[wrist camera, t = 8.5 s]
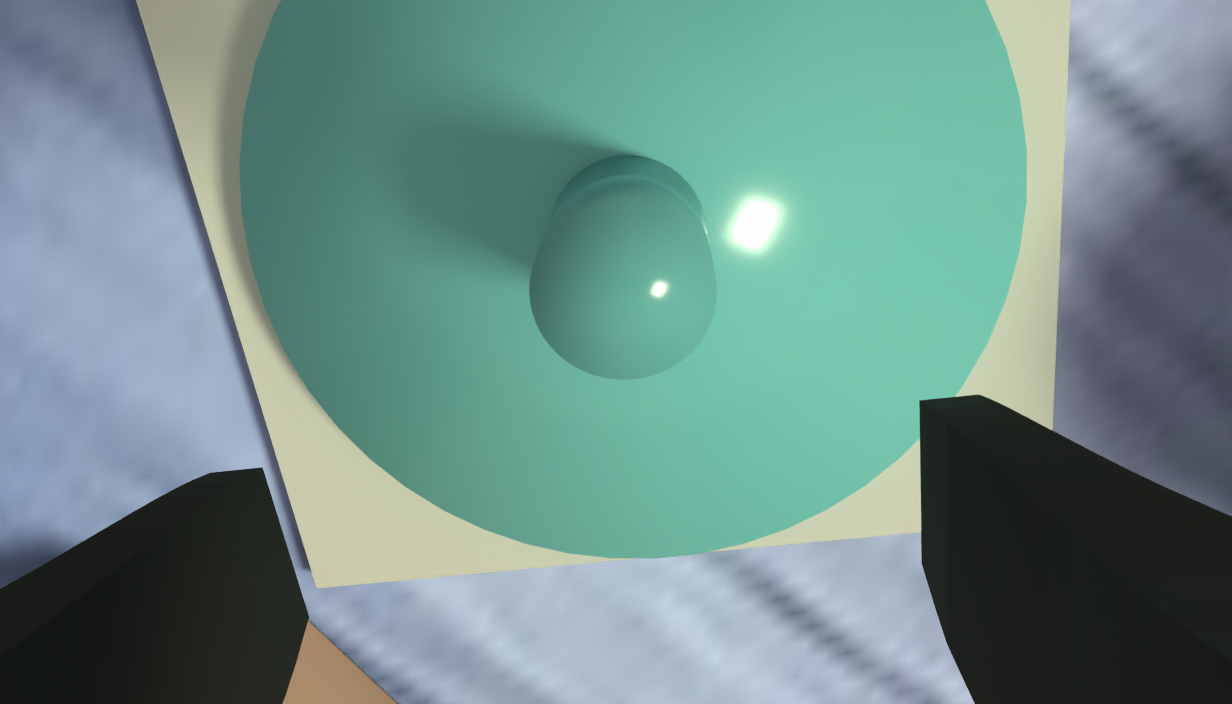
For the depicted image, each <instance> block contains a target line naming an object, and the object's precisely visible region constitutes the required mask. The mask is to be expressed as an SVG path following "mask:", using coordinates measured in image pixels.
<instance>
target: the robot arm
mask: <svg viewBox="0 0 1232 704" xmlns="http://www.w3.org/2000/svg"><path fill="white" fill-rule="evenodd" d="M919 409H920V477H921V544H922V565H923V569H924V572H925V575H926V579H927V582H928V585H929V588H930V592H931V595H932V598H933V602H934V605H935V608H936V611H937V614H938V617H939V620H940V623H941V626H942V630H943V633H944V636H945V639H946V642H947V644H948V647H949V649H950V651H951V653H952V655H953V658H954V660H955V662H956V664H957V666H958V668H959V671H960V673H961V675H962V677H963V679H964V681H965V683H966V686H967V688H968V690H969V692H970V694H971V696H972V698H973V701H974V703H975V704H1232V516H1229V515H1227V514H1224V513H1222V512H1220V511H1217V510H1215V509H1213V508H1211V507H1208V506H1206V505H1204V504H1202V503H1199V502H1197V501H1195V500H1193V499H1190V498H1188V497H1186V496H1184V495H1181V494H1179V493H1177V492H1174V491H1172V490H1170V489H1168V488H1165V487H1163V486H1161V485H1159V484H1157V483H1155V482H1153V481H1151V480H1149V479H1146V478H1144V477H1142V476H1140V475H1138V474H1136V473H1134V472H1132V471H1130V470H1128V469H1126V468H1124V467H1122V466H1120V465H1118V464H1116V463H1114V462H1112V461H1110V460H1108V459H1106V458H1104V457H1102V456H1100V455H1098V454H1096V453H1094V452H1092V451H1090V450H1088V449H1086V448H1084V447H1082V446H1081V445H1079V444H1077V443H1075V442H1073V441H1071V440H1069V439H1067V438H1065V437H1063V436H1062V435H1060V434H1058V433H1056V432H1054V431H1052V430H1050V429H1048V428H1046V427H1045V426H1043V425H1041V424H1039V423H1037V422H1035V421H1033V420H1031V419H1030V418H1028V417H1026V416H1024V415H1022V414H1020V413H1018V412H1016V411H1014V410H1012V409H1010V408H1008V407H1006V406H1004V405H1002V404H1000V403H998V402H996V401H994V400H992V399H989V398H987V397H984V396H982V395H979V394H978V395H968V396H958V397H948V398H938V399H929V400H919ZM308 619H309V616H308V612H307V609H306V606H305V603H304V600H303V596H302V593H301V590H300V587H299V583H298V580H297V577H296V574H295V571H294V567H293V564H292V561H291V558H290V555H289V551H288V548H287V545H286V542H285V539H284V535H283V532H282V529H281V526H280V523H279V519H278V516H277V513H276V510H275V506H274V503H273V500H272V497H271V494H270V490H269V487H268V484H267V481H266V478H265V474H264V471H263V468H253V469H243V470H234V471H224V472H214V473H209V474H207V475H204V476H202V477H199V478H197V479H194V480H192V481H190V482H188V483H186V484H184V485H182V486H180V487H178V488H176V489H174V490H172V491H170V492H168V493H166V494H165V495H163V496H161V497H159V498H157V499H155V500H154V501H152V502H150V503H148V504H147V505H145V506H143V507H141V508H140V509H138V510H136V511H134V512H133V513H131V514H129V515H127V516H126V517H124V518H122V519H121V520H119V521H117V522H115V523H114V524H112V525H110V526H109V527H107V528H105V529H104V530H102V531H100V532H98V533H97V534H95V535H93V536H92V537H90V538H88V539H87V540H85V541H83V542H81V543H80V544H78V545H76V546H75V547H73V548H71V549H70V550H68V551H66V552H65V553H63V554H61V555H59V556H58V557H56V558H54V559H53V560H51V561H49V562H48V563H46V564H44V565H42V566H41V567H39V568H37V569H35V570H34V571H32V572H30V573H28V574H26V575H25V576H23V577H21V578H19V579H17V580H16V581H14V582H12V583H10V584H8V585H7V586H5V587H3V588H1V589H0V704H282V703H283V701H284V699H285V696H286V693H287V690H288V687H289V684H290V681H291V677H292V674H293V671H294V668H295V665H296V662H297V659H298V655H299V651H300V648H301V644H302V641H303V637H304V633H305V630H306V626H307V623H308Z"/></svg>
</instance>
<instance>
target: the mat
mask: <svg viewBox="0 0 1232 704" xmlns="http://www.w3.org/2000/svg"><path fill="white" fill-rule="evenodd" d="M280 1H281V0H136V2H137V5H138V9H139V12H140V15H141V18H142V22H143V25H144V28H145V31H146V35H147V38H148V41H149V44H150V48H151V51H152V54H153V57H154V61H155V64H156V67H157V70H158V74H159V77H160V80H161V83H162V87H163V90H164V93H165V96H166V100H167V103H168V106H169V109H170V113H171V116H172V119H173V122H174V126H175V129H176V132H177V135H178V139H179V142H180V145H181V148H182V152H183V155H184V158H185V161H186V165H187V168H188V171H189V174H190V178H191V181H192V184H193V187H194V191H195V194H196V197H197V200H198V204H199V207H200V210H201V213H202V217H203V220H204V223H205V226H206V230H207V233H208V236H209V239H210V243H211V246H212V249H213V252H214V256H215V259H216V262H217V265H218V269H219V272H220V275H221V278H222V282H223V285H224V288H225V291H226V295H227V298H228V301H229V304H230V308H231V311H232V314H233V317H234V321H235V324H236V327H237V330H238V334H239V337H240V340H241V343H242V347H243V350H244V353H245V356H246V360H247V363H248V366H249V369H250V373H251V376H252V379H253V382H254V386H255V389H256V392H257V395H258V399H259V402H260V405H261V409H262V412H263V415H264V418H265V422H266V425H267V428H268V431H269V435H270V438H271V441H272V444H273V448H274V451H275V454H276V457H277V461H278V464H279V467H280V470H281V474H282V477H283V480H284V483H285V487H286V490H287V493H288V496H289V500H290V503H291V506H292V509H293V513H294V516H295V519H296V522H297V526H298V529H299V532H300V535H301V539H302V542H303V545H304V548H305V552H306V555H307V558H308V561H309V565H310V568H311V571H312V574H313V578H314V581H315V584H316V587H317V588H325V587H336V586H347V585H357V584H368V583H379V582H390V581H400V580H411V579H422V578H433V577H443V576H454V575H465V574H476V573H486V572H497V571H508V570H519V569H529V568H540V567H551V566H562V565H572V564H583V563H594V562H605V561H615V560H626V559H637V558H605V557H596V556H587V555H578V554H569V553H564V552H560V551H555V550H551V549H546V548H542V547H537V546H533V545H528V544H525V543H522V542H519V541H516V540H513V539H510V538H507V537H504V536H501V535H498V534H495V533H492V532H490V531H487V530H484V529H482V528H479V527H477V526H475V525H473V524H471V523H469V522H467V521H465V520H463V519H460V518H458V517H456V516H454V515H452V514H450V513H448V512H446V511H443V510H442V509H440V508H439V507H437V506H435V505H434V504H432V503H430V502H429V501H427V500H426V499H424V498H422V497H421V496H419V495H418V494H416V493H414V492H413V491H411V490H409V489H408V488H406V487H405V486H404V485H402V484H401V483H400V482H398V481H397V480H396V479H395V478H393V477H392V476H391V475H389V474H388V473H387V472H386V471H384V470H383V469H382V468H381V467H379V466H378V465H377V464H375V463H374V462H373V461H372V460H370V459H369V458H368V457H367V456H366V455H365V454H364V453H363V452H362V451H361V450H360V449H359V448H358V447H357V446H356V445H355V444H354V443H353V442H352V441H351V440H350V439H349V438H348V437H347V436H346V435H345V434H344V433H343V432H342V431H341V430H340V429H339V428H338V427H337V426H336V424H335V423H334V422H333V421H332V419H331V418H330V417H329V416H328V414H327V413H326V412H325V411H324V409H323V408H322V407H321V405H320V404H319V403H318V402H317V400H316V399H315V398H314V397H313V395H312V394H311V393H310V392H309V390H308V389H307V387H306V385H305V384H304V382H303V380H302V379H301V377H300V376H299V374H298V372H297V371H296V369H295V367H294V366H293V364H292V363H291V361H290V359H289V358H288V356H287V355H286V353H285V351H284V349H283V347H282V345H281V343H280V340H279V338H278V336H277V334H276V332H275V329H274V327H273V325H272V323H271V321H270V319H269V316H268V314H267V312H266V310H265V307H264V304H263V301H262V298H261V295H260V291H259V288H258V285H257V282H256V279H255V276H254V272H253V269H252V266H251V263H250V258H249V252H248V247H247V241H246V235H245V230H244V224H243V219H242V211H241V189H240V167H239V162H240V151H241V139H242V128H243V117H244V110H245V106H246V101H247V97H248V92H249V88H250V84H251V79H252V75H253V71H254V66H255V62H256V59H257V57H258V54H259V51H260V49H261V46H262V43H263V41H264V38H265V36H266V33H267V30H268V28H269V25H270V22H271V20H272V17H273V15H274V12H275V10H276V8H277V7H278V5H279V3H280ZM985 1H986V3H987V5H988V8H989V10H990V12H991V14H992V17H993V19H994V21H995V24H996V26H997V28H998V30H999V33H1000V35H1001V37H1002V39H1003V42H1004V44H1005V46H1006V50H1007V53H1008V57H1009V61H1010V64H1011V68H1012V71H1013V75H1014V78H1015V82H1016V86H1017V89H1018V93H1019V96H1020V102H1021V110H1022V117H1023V125H1024V132H1025V140H1026V147H1027V203H1026V210H1025V217H1024V224H1023V231H1022V238H1021V245H1020V252H1019V256H1018V259H1017V263H1016V266H1015V270H1014V273H1013V277H1012V281H1011V284H1010V288H1009V291H1008V295H1007V298H1006V301H1005V304H1004V306H1003V308H1002V311H1001V313H1000V315H999V318H998V320H997V322H996V325H995V327H994V329H993V332H992V334H991V336H990V339H989V341H988V343H987V346H986V347H985V349H984V351H983V352H982V354H981V356H980V357H979V359H978V361H977V363H976V364H975V366H974V368H973V369H972V371H971V373H970V374H969V376H968V378H967V380H966V381H965V383H964V385H963V386H962V388H961V389H960V390H959V392H958V393H957V394H956V396H955V397H958V396H968V395H978V394H979V395H982V396H984V397H987V398H989V399H992V400H994V401H996V402H998V403H1000V404H1002V405H1004V406H1006V407H1008V408H1010V409H1012V410H1014V411H1016V412H1018V413H1020V414H1022V415H1024V416H1026V417H1028V418H1030V419H1031V420H1033V421H1035V422H1037V423H1039V424H1041V425H1043V426H1045V427H1046V428H1048V429H1050V430H1052V431H1053V408H1054V384H1055V361H1056V337H1057V313H1058V290H1059V266H1060V243H1061V219H1062V196H1063V172H1064V148H1065V125H1066V101H1067V78H1068V54H1069V31H1070V7H1071V0H985ZM916 532H921V477H920V438H919V439H918V440H917V441H916V442H915V443H914V444H913V445H912V447H911V448H910V449H909V450H908V451H907V452H906V453H905V454H904V455H903V456H902V457H901V458H899V459H898V460H897V461H896V462H894V463H893V464H892V465H891V466H889V467H888V468H887V469H886V470H884V471H883V472H882V473H881V474H879V475H878V476H877V477H876V478H874V479H873V480H872V481H871V482H869V483H868V484H867V485H866V486H864V487H863V488H861V489H859V490H858V491H856V492H855V493H853V494H851V495H850V496H848V497H847V498H845V499H843V500H842V501H840V502H839V503H837V504H835V505H834V506H832V507H831V508H829V509H827V510H826V511H823V512H821V513H819V514H817V515H815V516H813V517H811V518H809V519H807V520H805V521H802V522H800V523H798V524H796V525H794V526H792V527H790V528H788V529H785V530H783V531H780V532H777V533H774V534H771V535H768V536H765V537H762V538H759V539H756V540H753V541H751V542H748V543H745V544H741V545H736V546H732V547H727V548H723V549H718V550H714V551H723V550H733V549H744V548H755V547H766V546H776V545H787V544H798V543H809V542H819V541H830V540H841V539H852V538H862V537H873V536H884V535H895V534H905V533H916ZM709 552H712V551H709Z"/></svg>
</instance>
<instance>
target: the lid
mask: <svg viewBox="0 0 1232 704" xmlns="http://www.w3.org/2000/svg"><path fill="white" fill-rule="evenodd" d="M239 167H240V189H241V211H242V219H243V224H244V230H245V235H246V241H247V247H248V252H249V258H250V263H251V266H252V269H253V272H254V276H255V279H256V282H257V285H258V288H259V291H260V295H261V298H262V301H263V304H264V307H265V310H266V312H267V314H268V316H269V319H270V321H271V323H272V325H273V327H274V329H275V332H276V334H277V336H278V338H279V340H280V343H281V345H282V347H283V349H284V351H285V353H286V355H287V356H288V358H289V359H290V361H291V363H292V364H293V366H294V367H295V369H296V371H297V372H298V374H299V376H300V377H301V379H302V380H303V382H304V384H305V385H306V387H307V389H308V390H309V392H310V393H311V394H312V395H313V397H314V398H315V399H316V400H317V402H318V403H319V404H320V405H321V407H322V408H323V409H324V411H325V412H326V413H327V414H328V416H329V417H330V418H331V419H332V421H333V422H334V423H335V424H336V426H337V427H338V428H339V429H340V430H341V431H342V432H343V433H344V434H345V435H346V436H347V437H348V438H349V439H350V440H351V441H352V442H353V443H354V444H355V445H356V446H357V447H358V448H359V449H360V450H361V451H362V452H363V453H364V454H365V455H366V456H367V457H368V458H369V459H370V460H372V461H373V462H374V463H375V464H377V465H378V466H379V467H381V468H382V469H383V470H384V471H386V472H387V473H388V474H389V475H391V476H392V477H393V478H395V479H396V480H397V481H398V482H400V483H401V484H402V485H404V486H405V487H406V488H408V489H409V490H411V491H413V492H414V493H416V494H418V495H419V496H421V497H422V498H424V499H426V500H427V501H429V502H430V503H432V504H434V505H435V506H437V507H439V508H440V509H442V510H443V511H446V512H448V513H450V514H452V515H454V516H456V517H458V518H460V519H463V520H465V521H467V522H469V523H471V524H473V525H475V526H477V527H479V528H482V529H484V530H487V531H490V532H492V533H495V534H498V535H501V536H504V537H507V538H510V539H513V540H516V541H519V542H522V543H525V544H528V545H533V546H537V547H542V548H546V549H551V550H555V551H560V552H564V553H569V554H578V555H587V556H596V557H605V558H664V557H673V556H682V555H691V554H701V553H705V552H709V551H714V550H718V549H723V548H727V547H732V546H736V545H741V544H745V543H748V542H751V541H753V540H756V539H759V538H762V537H765V536H768V535H771V534H774V533H777V532H780V531H783V530H785V529H788V528H790V527H792V526H794V525H796V524H798V523H800V522H802V521H805V520H807V519H809V518H811V517H813V516H815V515H817V514H819V513H821V512H823V511H826V510H827V509H829V508H831V507H832V506H834V505H835V504H837V503H839V502H840V501H842V500H843V499H845V498H847V497H848V496H850V495H851V494H853V493H855V492H856V491H858V490H859V489H861V488H863V487H864V486H866V485H867V484H868V483H869V482H871V481H872V480H873V479H874V478H876V477H877V476H878V475H879V474H881V473H882V472H883V471H884V470H886V469H887V468H888V467H889V466H891V465H892V464H893V463H894V462H896V461H897V460H898V459H899V458H901V457H902V456H903V455H904V454H905V453H906V452H907V451H908V450H909V449H910V448H911V447H912V445H913V444H914V443H915V442H916V441H917V440H918V439H919V438H920V409H919V400H929V399H938V398H948V397H955V396H956V394H957V393H958V392H959V390H960V389H961V388H962V386H963V385H964V383H965V381H966V380H967V378H968V376H969V374H970V373H971V371H972V369H973V368H974V366H975V364H976V363H977V361H978V359H979V357H980V356H981V354H982V352H983V351H984V349H985V347H986V346H987V343H988V341H989V339H990V336H991V334H992V332H993V329H994V327H995V325H996V322H997V320H998V318H999V315H1000V313H1001V311H1002V308H1003V306H1004V304H1005V301H1006V298H1007V295H1008V291H1009V288H1010V284H1011V281H1012V277H1013V273H1014V270H1015V266H1016V263H1017V259H1018V256H1019V252H1020V245H1021V238H1022V231H1023V224H1024V217H1025V210H1026V203H1027V147H1026V140H1025V132H1024V125H1023V117H1022V110H1021V102H1020V96H1019V93H1018V89H1017V86H1016V82H1015V78H1014V75H1013V71H1012V68H1011V64H1010V61H1009V57H1008V53H1007V50H1006V46H1005V44H1004V42H1003V39H1002V37H1001V35H1000V33H999V30H998V28H997V26H996V24H995V21H994V19H993V17H992V14H991V12H990V10H989V8H988V5H987V3H986V1H985V0H281V1H280V3H279V5H278V7H277V8H276V10H275V12H274V15H273V17H272V20H271V22H270V25H269V28H268V30H267V33H266V36H265V38H264V41H263V43H262V46H261V49H260V51H259V54H258V57H257V59H256V62H255V66H254V71H253V75H252V79H251V84H250V88H249V92H248V97H247V101H246V106H245V110H244V117H243V128H242V139H241V151H240V162H239Z"/></svg>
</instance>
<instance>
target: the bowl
mask: <svg viewBox="0 0 1232 704" xmlns="http://www.w3.org/2000/svg"><path fill="white" fill-rule="evenodd" d="M282 704H397V703H396V702H395V701H394V700H393V699H392V698H391V697H390V696H388V695H387V694H386V693H385V692H384V691H383V690H382V689H381V688H380V687H379V686H378V685H377V684H376V683H375V682H373V681H372V680H371V679H370V678H369V677H368V676H367V675H366V674H365V673H364V672H363V671H362V670H361V669H359V668H358V667H357V666H356V665H355V664H354V663H353V662H352V661H351V660H350V659H349V658H348V657H347V656H346V655H344V654H343V653H342V652H341V651H340V650H339V649H338V648H337V647H336V646H335V645H334V644H333V643H332V642H331V641H329V640H328V639H327V638H326V637H325V636H324V635H323V634H322V633H321V632H320V631H319V630H318V629H317V628H316V627H314V626H313V625H312V624H311V623H310V622H309V620H308V623H307V626H306V630H305V633H304V637H303V641H302V644H301V648H300V651H299V655H298V659H297V662H296V665H295V668H294V671H293V674H292V677H291V681H290V684H289V687H288V690H287V693H286V696H285V699H284V701H283V703H282Z"/></svg>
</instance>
